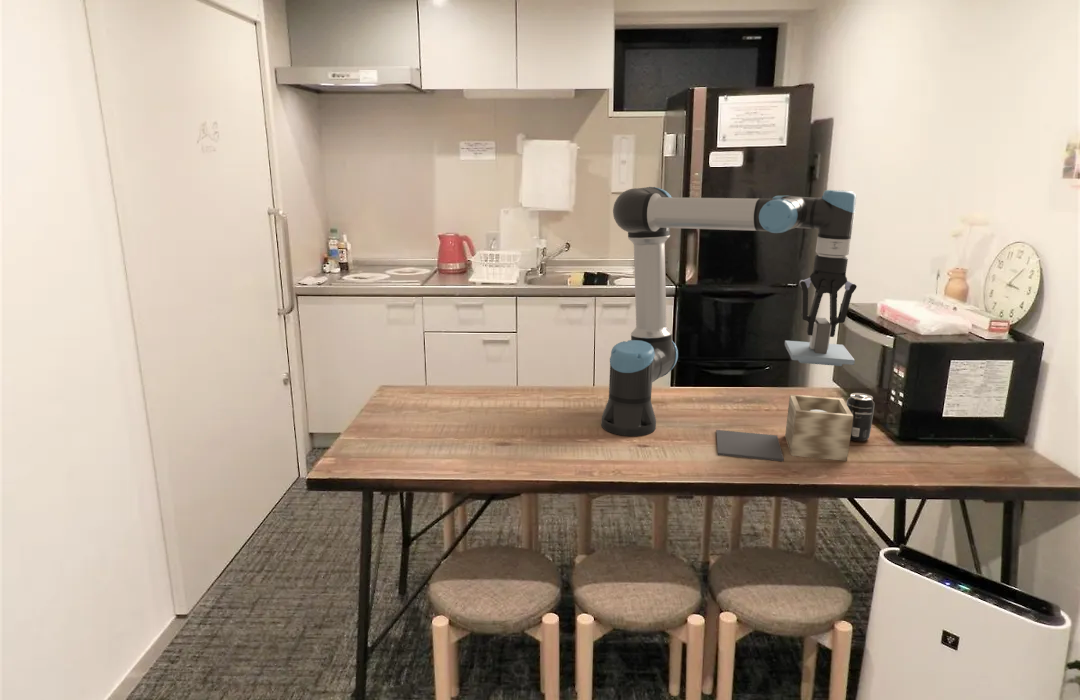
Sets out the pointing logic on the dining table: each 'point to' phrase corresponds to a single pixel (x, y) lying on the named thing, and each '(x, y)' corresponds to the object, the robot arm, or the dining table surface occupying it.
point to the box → (818, 427)
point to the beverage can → (861, 415)
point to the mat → (749, 445)
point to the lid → (819, 349)
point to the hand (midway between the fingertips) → (818, 348)
